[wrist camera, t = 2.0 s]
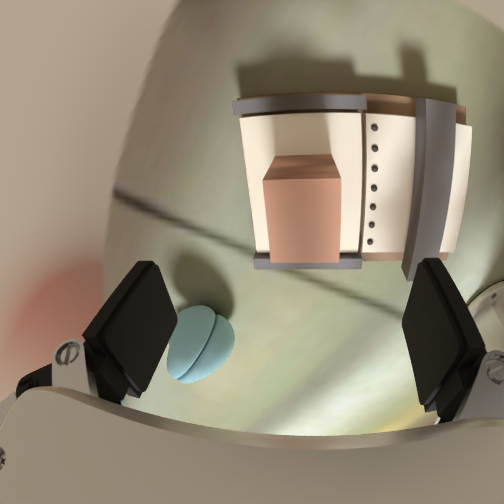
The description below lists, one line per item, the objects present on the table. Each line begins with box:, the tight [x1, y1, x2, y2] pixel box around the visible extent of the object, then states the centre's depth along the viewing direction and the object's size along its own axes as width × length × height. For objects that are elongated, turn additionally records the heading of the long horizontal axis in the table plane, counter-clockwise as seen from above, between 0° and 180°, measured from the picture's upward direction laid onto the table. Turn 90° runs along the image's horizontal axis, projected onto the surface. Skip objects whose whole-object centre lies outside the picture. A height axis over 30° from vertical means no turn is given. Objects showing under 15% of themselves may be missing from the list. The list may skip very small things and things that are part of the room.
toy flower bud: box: [167, 305, 235, 383], centre depth 30 cm, size 7×9×12 cm
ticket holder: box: [232, 92, 472, 281], centre depth 19 cm, size 18×14×4 cm
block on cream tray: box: [240, 112, 362, 263], centre depth 18 cm, size 8×11×7 cm
